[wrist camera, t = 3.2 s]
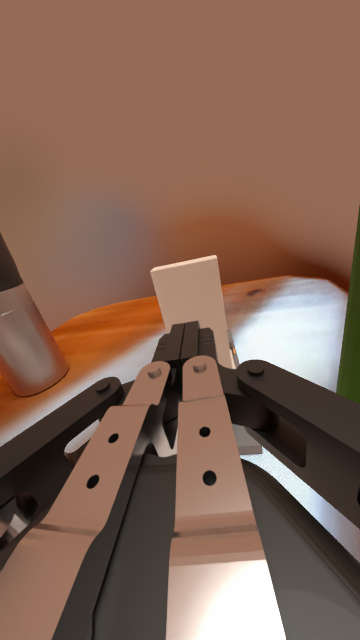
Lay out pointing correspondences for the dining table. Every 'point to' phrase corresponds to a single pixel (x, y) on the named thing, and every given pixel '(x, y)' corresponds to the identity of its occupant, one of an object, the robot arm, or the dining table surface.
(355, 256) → the wine bottle
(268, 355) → the dining table surface
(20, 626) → the robot arm
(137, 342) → the dining table surface
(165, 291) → the peach lever handle
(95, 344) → the dining table surface
